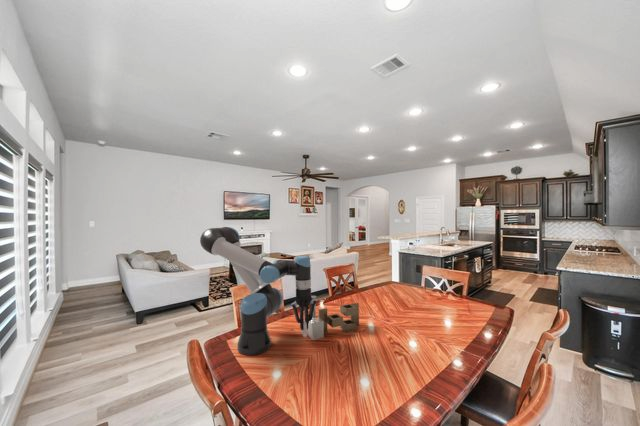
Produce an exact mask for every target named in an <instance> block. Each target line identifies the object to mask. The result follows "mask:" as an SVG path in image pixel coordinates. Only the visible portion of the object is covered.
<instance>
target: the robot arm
mask: <svg viewBox="0 0 640 426" xmlns="http://www.w3.org/2000/svg"><path fill="white" fill-rule="evenodd" d="M199 242H200V246H201V247H202V249H203V250H205V252H207V253H209V254H210V255H213V256H219V257H222V258H224V259H226V260H228V261H229V263H230V264H231V266H232V267H233V269H234V270H235V271H236V273H237V274H238V276H239V278H240V279H241V280H242V282H243V283H244V284H245V286H246V287H247V289H248V291H249V292H250V294H248V295H245V296H244V297H243V298H242V299H241V303H240V304H241V305H240V319H241V321H240V323H241V325H240V328H241V331H240V332H241V333H240V336H239V339H238V341H237V351H238V353H240V354H242V355H245V356H254V355H260V354H263V353H265V352H266V351H268V350H270V348H271V346H272V340H271V339H272V338H271V337H270V334H269V330H268V318H269V317H270V316H271V315H273V314H274V313H276V312H277V311H278V310H279V309H280V308H281V306H282V305H283V295H282V293H281V291H280V290H279V289H278V288H275V287H272V285H271V283H275V282H276V281H278V280H279V279H281V278H283V277H285V276H294V277H295V299H294V301H293V302H291V303H290V306H291V307H292V309H293V313H294V316H295V322H297V323H298V324H299V326H300V327H299V328H300V330H301V335H302V337H303V338H306V337H308V323H309V321H311V320H312V317H313V311H314V306H315V304H316V305H317V300H316V301H315V300H314V299H312V297H311V296H312V288H311V287H312V280H311V279H312V276H311V271H312V270H311V258H310V257H309V256H307V255H300V256H299V255H298V256H295V257H294V259H293V260H292V259H289V260H288V259H274V260H273V262H271V261H268V260H266V259H264V258H262V257H260V256H258V255H256V254H254V253H252V252H249V251H248V250H246V249H243V248H242V247H241V244H242V243H241V241H240V234H239V231H237V230H236V229H235V228H234V227H230V226H223V227H212V228H208V229H206V230H204V231H203V232H202V233H201V236H200V239H199ZM298 307H299V311H298Z"/></svg>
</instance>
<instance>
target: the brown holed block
mask: <svg viewBox="0 0 640 426" xmlns="http://www.w3.org/2000/svg"><path fill="white" fill-rule="evenodd" d="M359 304H360V303H359V302H353V303H348V304H343V305H342V304H341V305H340V306H339V307H340V309H339V310H340V311H339V312H340V314H341V315H343V316H345V317H350V318H349V319H345V320H344V319H343V326H340V329H341V330H343V332H345V333H349V332H354V331H357V326H360V305H359Z"/></svg>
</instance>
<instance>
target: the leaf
mask: <svg viewBox="0 0 640 426" xmlns="http://www.w3.org/2000/svg"><path fill="white" fill-rule="evenodd" d="M343 320H344V317H343V316H341V315H340V314H338V313H334V314H329V315H328V308H327V307H324V308H318V316H316V318H312V320H311V321H309V323H308V329H307V336H309V338H310V339H311V340H312V341H315V340H319V339H322V338H323V339H324V338H325V333H328V326H330V327H331V328H338V327H341V326H343Z"/></svg>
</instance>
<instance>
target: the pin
mask: <svg viewBox="0 0 640 426" xmlns="http://www.w3.org/2000/svg"><path fill="white" fill-rule="evenodd" d="M311 297H312V299H314V300H315V301H316V302H317V300H316V299H317V296H316V295H311ZM316 305H317V303H316V304H315V306H314V311H313V317H312V318H317V315H316V313H317V309H316Z"/></svg>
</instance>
